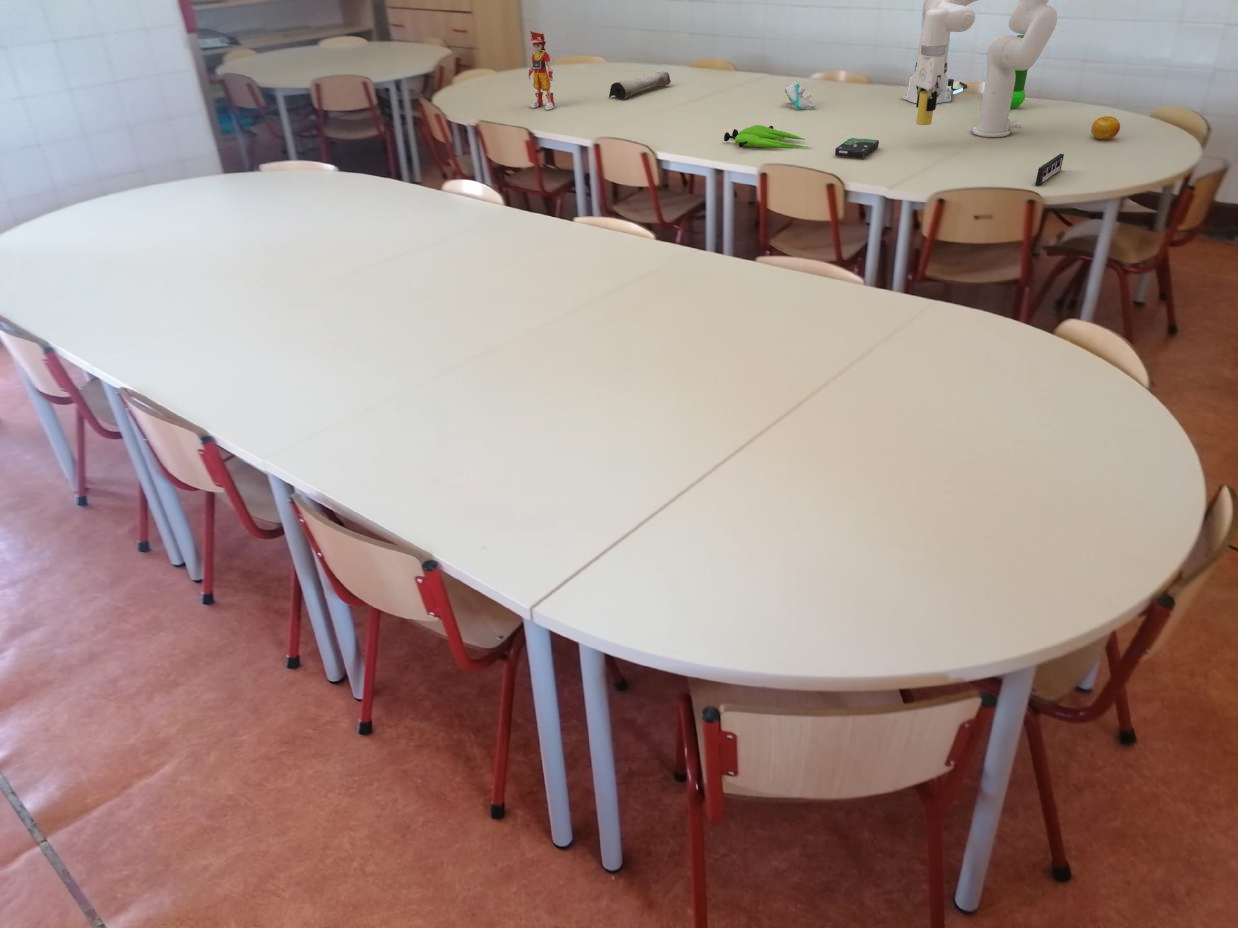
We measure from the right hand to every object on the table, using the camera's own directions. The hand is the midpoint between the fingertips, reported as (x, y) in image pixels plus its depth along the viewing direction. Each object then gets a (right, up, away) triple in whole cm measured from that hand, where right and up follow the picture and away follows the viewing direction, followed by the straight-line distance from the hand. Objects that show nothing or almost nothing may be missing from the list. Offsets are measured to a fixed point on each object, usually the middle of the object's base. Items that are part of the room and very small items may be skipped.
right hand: (925, 108), depth 302 cm
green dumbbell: (+47, +17, +42) cm, 65 cm away
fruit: (+61, -9, +3) cm, 62 cm away
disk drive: (-22, -14, +4) cm, 26 cm away
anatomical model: (-31, +25, +60) cm, 72 cm away
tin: (0, -4, +3) cm, 5 cm away
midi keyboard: (+28, -32, -27) cm, 51 cm away
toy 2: (-50, -6, +18) cm, 53 cm away
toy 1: (-136, +32, +81) cm, 162 cm away
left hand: (-20, +65, +52) cm, 85 cm away
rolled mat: (-94, +45, +95) cm, 141 cm away
